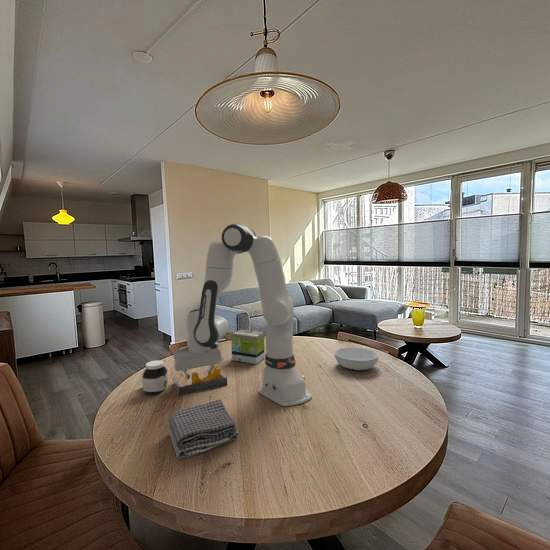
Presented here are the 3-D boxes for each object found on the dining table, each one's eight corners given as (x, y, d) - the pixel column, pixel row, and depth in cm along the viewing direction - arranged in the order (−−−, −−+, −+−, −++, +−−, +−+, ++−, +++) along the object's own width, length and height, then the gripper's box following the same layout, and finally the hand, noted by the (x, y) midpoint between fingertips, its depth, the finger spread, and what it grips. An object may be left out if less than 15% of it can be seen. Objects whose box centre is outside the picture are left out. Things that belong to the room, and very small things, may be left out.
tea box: (231, 361, 156) (230, 333, 155) (240, 355, 165) (240, 329, 164) (256, 364, 150) (256, 336, 149) (265, 358, 160) (264, 331, 159)
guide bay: (227, 384, 127) (227, 377, 127) (179, 395, 118) (178, 388, 118) (218, 374, 139) (217, 368, 138) (173, 383, 129) (173, 376, 129)
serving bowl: (387, 368, 143) (387, 354, 143) (358, 379, 132) (358, 363, 131) (353, 356, 160) (353, 344, 160) (325, 365, 149) (325, 351, 148)
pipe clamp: (216, 379, 133) (216, 365, 133) (220, 382, 130) (220, 368, 129) (190, 386, 126) (190, 371, 126) (194, 390, 123) (193, 375, 122)
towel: (167, 434, 92) (166, 410, 92) (223, 418, 101) (223, 396, 101) (177, 464, 79) (176, 436, 79) (240, 442, 88) (240, 416, 88)
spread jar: (157, 397, 117) (155, 368, 116) (131, 394, 119) (130, 366, 118) (173, 384, 128) (172, 357, 128) (149, 382, 131) (148, 356, 130)
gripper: (174, 351, 121) (175, 384, 122) (222, 343, 131) (223, 374, 132) (171, 347, 127) (173, 378, 128) (218, 340, 137) (219, 369, 137)
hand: (199, 376), depth 130 cm, fingers open, 8 cm apart
